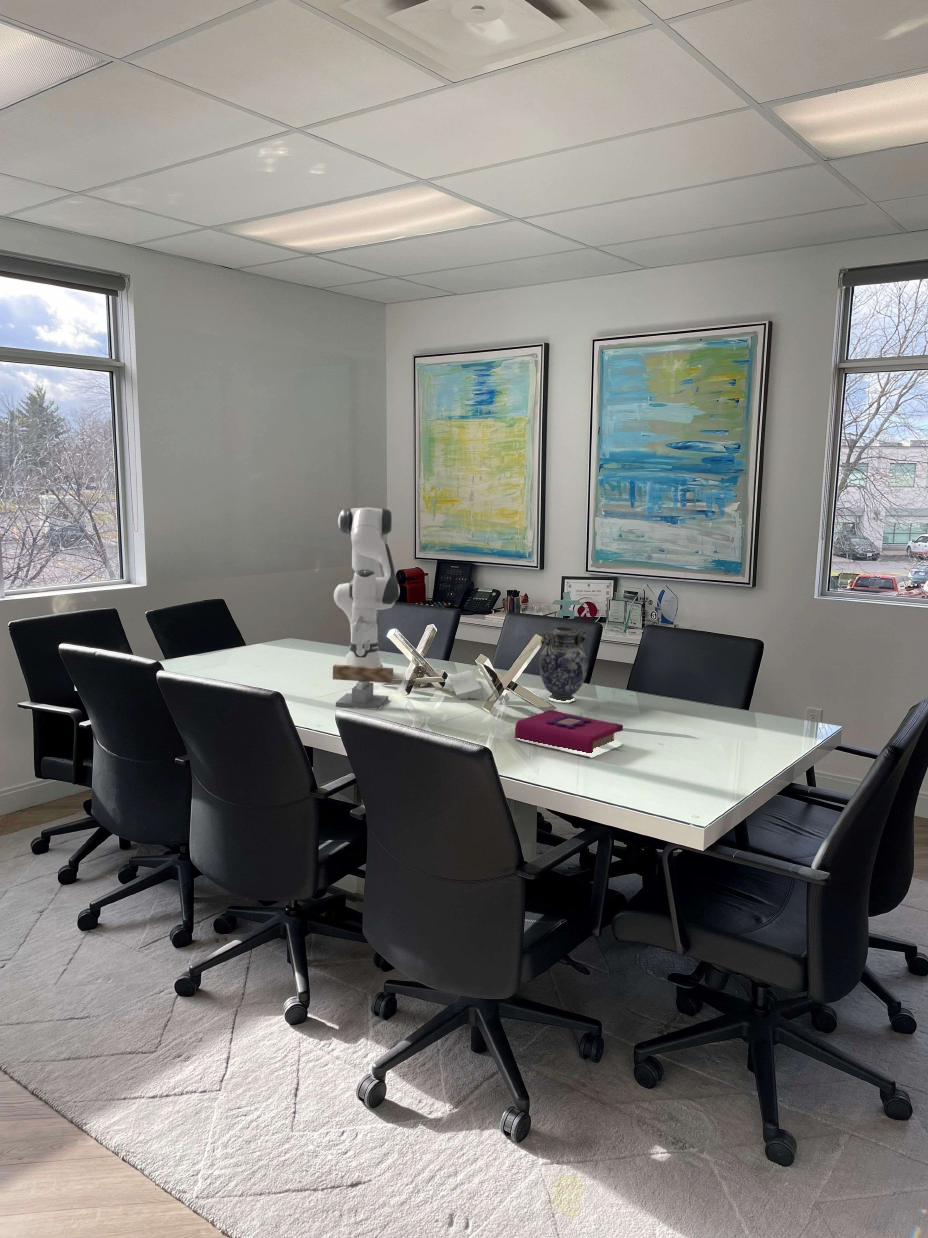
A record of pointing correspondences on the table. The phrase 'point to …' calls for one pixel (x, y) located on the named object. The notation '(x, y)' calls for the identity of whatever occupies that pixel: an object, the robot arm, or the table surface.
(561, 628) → the decorative vase
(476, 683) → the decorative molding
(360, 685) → the stand
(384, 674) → the brown wooden bar
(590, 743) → the book
